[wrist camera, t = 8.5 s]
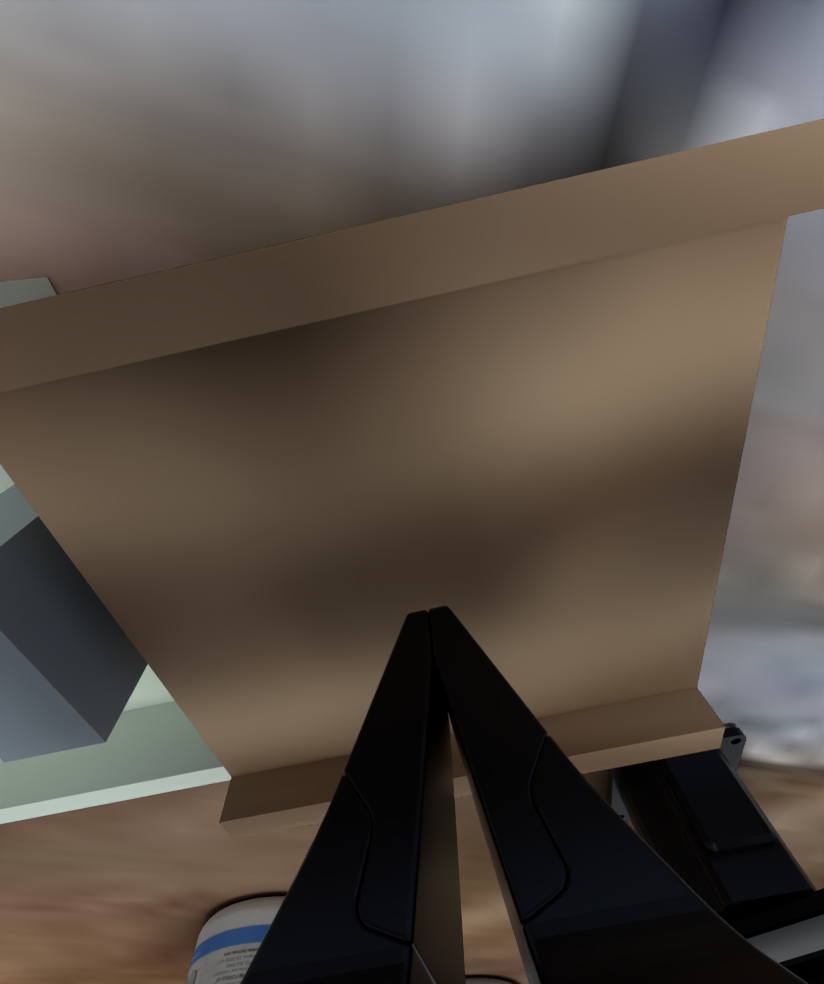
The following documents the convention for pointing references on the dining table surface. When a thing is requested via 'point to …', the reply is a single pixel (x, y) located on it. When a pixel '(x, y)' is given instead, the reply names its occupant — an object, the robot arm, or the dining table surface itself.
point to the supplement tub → (232, 941)
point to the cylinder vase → (485, 981)
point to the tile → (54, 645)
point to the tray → (134, 739)
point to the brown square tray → (420, 457)
